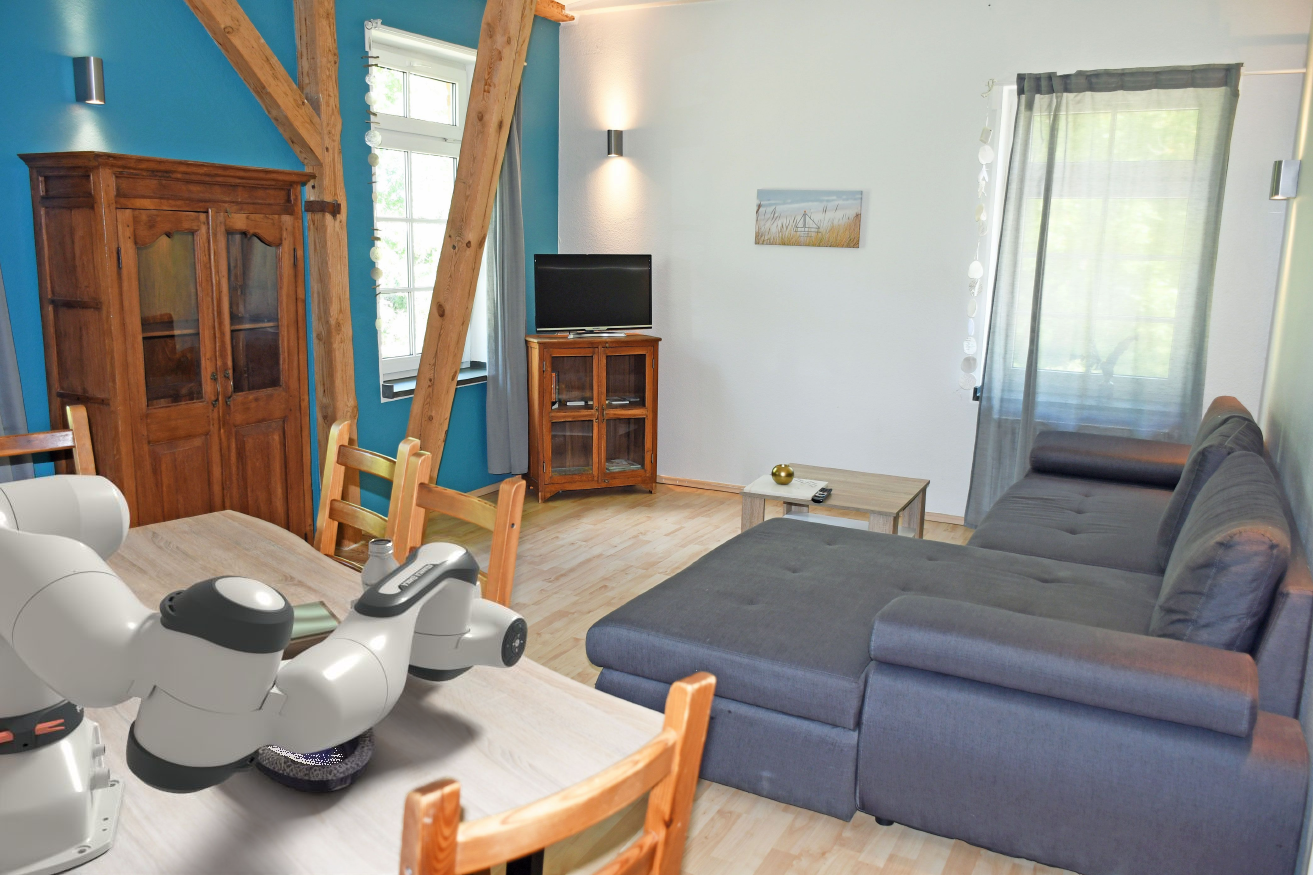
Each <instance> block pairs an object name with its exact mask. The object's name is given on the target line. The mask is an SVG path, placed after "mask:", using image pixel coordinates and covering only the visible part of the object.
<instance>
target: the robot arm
mask: <svg viewBox="0 0 1313 875" xmlns="http://www.w3.org/2000/svg"><path fill="white" fill-rule="evenodd" d="M130 515H131V514H130V510H129V506H128V502H127V500H126V498H125V496H124V495H123V493H122V491H121V490H120V489H119V488H118V487H117V485H115V483H113V482H111V481H110V479H108V478H106V477H104V476H101V475H93V474H90V475H88V474H55V475H49V476H48V475H47V476H41V477H34V478H28V479H20V480H16V481H8V482H2V483H0V875H54V874H57V873H60V872H63V871H65V870H69V869H72V868H74V867H77V866H81V865H83V864H84V863H86V862H88V861H90V860H93V859H95V858H96V857H99V856H101V855H102V854H103V853H106V852H107V851H109V850H110V849H111V848H112V846H113V845H114V841H115V840H114V839H115V834H116V830H117V826H118V825H117V824H118V821H119V815H120V810H121V805H122V800H123V797H124V796H123V795H124V790H125V786H126V783H125V778H124V775H122V774H121V773H120V774H119V773H112V772H111V770H110V767H109V766H105V765H104V758H103V757H104V756H105V755H106V745H105V743H102V742H101V741H102V740H101V732H100V725H99V723H98V722H95V721H93V720H91V719H89V718H87V717H86V716H85V709H90V710H91V709H92V710H97V709H107V708H111V707H116V706H119V705H121V704H123V703H126V702H128V701H129V700H131V699H133V698H137V699H138V698H139V699H141V700H140V702H139V706H138V709H137V713H136V718H135V719H134V720H133V721H132V722H131V724H130V726H129V728H128V729H129V730H128V733H127V734H128V735H127V740H126V746H125V747H126V748H125V759H126V760H125V761H126V765H127V767H128V769H129V770H130V772H131V773H132V774H133V775H134V776H135V777H136V778H138V780H140V781H141V782H142V783H143V784H145V785H147V786H148V787H151V788H153V789H154V790H158V791H161V792H165V793H169V794H178V795H179V794H180V795H183V794H184V795H185V794H192V793H197V792H200V791H203V790H206V789H209V788H212V787H214V786H217V785H219V784H222V783H223V782H226V780H229V778H231V777H232V776H234V775H235V774H236V773H245V772H248V771H250V770H251V769H252V768H253V767H254V766H255V764H256V763H257V761H258V759H259V748H260V747H262V746H265V745H275V746H278V747H280V748H282V749H284V750H286V751H289V752H293V753H298V754H307V753H314V752H318V751H322V750H326V749H329V748H332V747H335V746H337V745H339V744H342V743H344V742H347V741H349V740H351V739H353V738H354V737H356V736H358V735H360V734H361V733H363V732H364V731H366V730H368V729H369V728H371V727H372V728H373V727H374V726H375V725H377V724H378V723H380V722H381V721H382V720H383V719H385V717H387V715H388V714H390V713H391V710H392V709H393V708H394V706H395V705H396V704H397V702H398V700H399V699H400V698H401V695H402V693H403V691H404V689H405V685H406V681H407V677H408V674H409V675H410V676H412V677H415V678H418V679H421V680H425V681H429V682H437V683H438V682H439V683H440V682H448V681H452V680H455V679H456V678H458V677H459V676H461V675H463V674H464V673H467V672H468V671H469V670H471V669H473V667H474V666H480V667H481V666H484V667H492V668H498V669H509V668H512V667H514V666H515V665H516V664H517V663H518V662H519V661H520V659H521V658H522V656H523V654H524V652H525V650H526V646H527V642H528V629H529V628H528V624H527V621H526V619H525V618H524V617H523V616H522V615H521V614H520V613H518V612H516V611H515V610H513V609H510V608H508V607H506V605H505V606H504V605H502V604H500V603H497V602H494V601H492V600H489V599H486V598H482V585H481V581H479V580H478V578H479V575H480V574H479V572H480V569H481V567H480V566H479V564H478V562H477V560H476V558H474V556H473V555H472V553H471V552H470V551H469V550H468V549H467V548H466V547H464V546H463V545H459V544H454V543H451V542H445V541H444V542H442V541H441V542H437V541H436V542H429V543H424V544H422V545H419V546H418V547H417V548H414V549H413V550H412V551H411V552H409V554H408V555H407V556H406V557H405V560H404V562H403V563H402V564H399V565H400V566H399V567H398V568H396V569H395V570H393V571H392V572H391V573H389V574H388V575H386V576H385V577H384V578H382V579H381V580H379V581H378V582H377V583H375V584H374V585H373V586H371V587H370V588H369V589H368V590H366V591H365V592H363V593H362V594H361V596H360V597H359V598H356V599H355V598H354V599H352V600H350V609H349V610H348V612H347V615H346V616H345V618H344V619H343V620H342V621H341V622H342V623H341V624H340V625H339V626H338V627H337V628H336V629H335V630H334V632H333V633H332V634H331V635H330V636H328V637H327V638H326V639H325V640H324V641H323V642H321V643H319V644H317V645H314V646H312V647H311V648H309V649H307V650H306V651H304V652H302V653H301V654H299V655H298V656H296V657H295V658H293V659H290V660H284V661H281V659H282V655H283V652H284V649H285V648H286V647H287V646H288V645H289V643H290V639H291V635H292V630H293V623H294V610H293V607H292V606H293V605H292V604H291V603H290V601H289V600H288V598H287V597H286V596H285V595H284V594H283V593H282V592H280V591H279V590H278V589H276V588H274V587H273V586H271V585H269V584H266V583H264V582H262V581H258V580H256V579H254V578H249V577H247V576H246V577H245V576H241V575H239V576H238V575H219V576H216V577H211V578H207V579H204V580H201V581H199V582H195V583H193V584H191V585H190V586H189V587H187V588H186V589H179V590H175V591H172V592H170V593H168V594H167V595H166V596H165V597H164V598H163V599H162V600H161V601H160V603H159V607H158V608H159V611H156V610H154V609H151V608H149V607H147V606H146V605H145V604H143V603H142V602H141V600H139V599H138V597H137V596H136V595H135V593H133V591H132V590H131V589H130V588H129V586H128V585H127V584H126V583H125V582H124V581H123V579H121V577H120V576H118V574H117V573H116V572H115V571H114V570H113V569H112V568H111V567H110V566H109V565H108V564H107V563H106V562H107V561H108V560H109V558H111V557H112V556H113V555H115V553H116V552H118V551H119V549H120V548H121V546H122V545H123V544H124V541H125V540H126V538H127V535H128V533H129V528H130V520H131V519H130V518H131V516H130Z"/></svg>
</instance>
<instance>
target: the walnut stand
mask: <svg viewBox="0 0 1313 875" xmlns="http://www.w3.org/2000/svg"><path fill="white" fill-rule="evenodd" d="M291 606H292V607H293V610H294V623H293V630H292V635H291V639H290V643H289V645H288V646H287V647H286V648H285V649H284V652H283V655H282V659H281V661H284V660H290V659H293V658H295V657H296V656H298V655H299V654H301V653H302V652H304V651H306V650H307V649H309V648H311V647H312V646H314V645H317V644H319V643H321V642H323V641H324V640H325V639H326V638H327V637H328V636H330V635H331V634H332V633H333V632H334V630H335V629H336V628H337V627H338V626H339V625H340V624H341V623H342V621H341V620H340V618H338V616H337V615H336V613H334V611H333V610H331V608H330V607H329V606H328V605H327V604H326V603H325V602H324V601H323V600H317V601H313V602H307V603H302V604H296V605H291Z"/></svg>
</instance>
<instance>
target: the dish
mask: <svg viewBox="0 0 1313 875" xmlns="http://www.w3.org/2000/svg"><path fill="white" fill-rule="evenodd" d="M269 746H270V747H271V746H272V748H278V746H277V747H273V746H275V745H265V746H262V747H260V748H259V759H258V761H257V763H256V764H255V765H254V766H255V767H256V768H257V769H259V770H260V771H261V772H262V773H264V774H265V775H266V776H268V777H270V778H271V779H273V780H274V781H277V782H279V783H281V784H283V785H285V786H288V787H290V788H294V789H295V790H296V789H297V790H301V791H306V792H313V793H314V792H315V793H316V792H319V793H321V792H331V791H332V792H333V791H337V790H340V789H342V788H346V787H348V786H349V785H351V784H353V782H355V781H356V780H357V779H358V778H359V777H360V776H361V775H362V774H363V772H365V769H366V768H367V766H368V763H369V761H370V759H371V756H372V754H373V752H374V749H375V733H374V729H373V726H372V727H371V728H369V729H368V730H366V731H364V732H363V733H361V734H360V735H358V736H356V737H354V738H353V739H351V740H349V741H347V742H344V743H342V744H339V745H337V746H335V747H332V748H329V749H326V750H322V751H318V752H314V753H307V755H306V754H301V755H303V757H302V756H299V755H298V757H299V758H297V757H296V759H300V757H302V758H304V759H306V760H308V759H309V760H310V759H312V760H311V761H313V759H314V761H315V764H319V762H321V760H323V761H322V762H321V763H320V764H321V765H315V764H314V765H312V764H311V765H310V764H307V763H306V764H304V763H302V762H298V761H295V760H293V759H291V758H289V757H290V756H289V757H288V756H285V755H284V756H283V755H280V753H277V752H275V751H273V750H271V749H270V748H268V747H269ZM279 748H280V747H279ZM335 748H336V749H335ZM280 750H281V748H280ZM282 750H283V749H282ZM336 750H337V751H336ZM276 751H277V750H276ZM278 751H279V750H278ZM280 752H282V751H280ZM283 752H284V751H283ZM285 752H286V751H285ZM334 752H335V753H334ZM287 753H289V752H287ZM287 753H286V754H287ZM290 753H291V752H290ZM281 754H282V753H281ZM291 754H293V755H294V754H296V753H293V752H292V753H291ZM297 754H298V753H297ZM308 754H309V755H308ZM318 754H319V755H318ZM323 754H324V756H323ZM338 754H340V755H339V756H341V757H339V756H338V757H337V756H335V757H334V756H331V755H338ZM341 754H342V755H341ZM311 755H312V756H311ZM313 755H315V756H313ZM316 755H318V756H317V757H316ZM328 755H329V756H328ZM295 756H297V755H295ZM304 756H305V757H304ZM319 756H320V757H319ZM342 756H343V757H342ZM309 757H310V758H309ZM324 757H325V758H324ZM294 758H295V757H294ZM302 758H301V759H302ZM317 758H318V759H319V760H320V761H318V759H317ZM332 758H333V759H335V758H336V759H340V761H339V760H337V761H336V759H335V761H333V759H332ZM315 759H317V761H316V760H315ZM325 759H326V760H325ZM328 759H329V761H328ZM330 759H332V761H331V760H330ZM306 760H305V762H306ZM341 760H342V761H341ZM302 761H303V760H302ZM311 761H310V763H311ZM324 761H325V762H324ZM326 761H328V762H326ZM307 762H309V761H307ZM316 762H318V763H316ZM329 762H330V763H329ZM332 762H333V763H332ZM334 762H336V763H334ZM337 762H338V763H337ZM312 763H314V762H312ZM322 763H323V765H322ZM324 763H326V765H325V764H324ZM327 764H329V765H327ZM330 764H331V765H330Z"/></svg>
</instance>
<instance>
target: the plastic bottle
mask: <svg viewBox="0 0 1313 875" xmlns="http://www.w3.org/2000/svg"><path fill="white" fill-rule="evenodd" d="M393 544H394V543H393V540H392V539H390V538H374V539H372V540H369V542H368V550H367V551H368V554H367V555H369V558H368V559H367V561H366V562H365V564H364V565H363V567H362V570H361V574H360V580H361V587H362V592H363V593H364V592H365V591H366V590H368V589H369V588H370V587H371V586H373V585H374V584H375V583H377V582H378V581H379V580H381V579H382V578H384V577H385V576H386V575H388V574H389V573H391V572H392V571H393V570H395V569H396V568H398V567H399V566H400V565H401V564H400V563H399V562H398V561H397V559H395V558H394V556H393V554H394V553H395V552H394V546H393Z"/></svg>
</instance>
